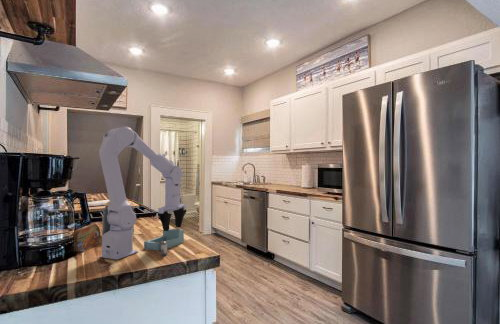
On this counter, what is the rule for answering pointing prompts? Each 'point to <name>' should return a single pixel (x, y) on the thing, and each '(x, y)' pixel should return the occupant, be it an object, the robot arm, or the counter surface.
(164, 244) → the peg
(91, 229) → the tin
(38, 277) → the counter surface
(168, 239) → the link
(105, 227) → the canister
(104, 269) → the counter surface
